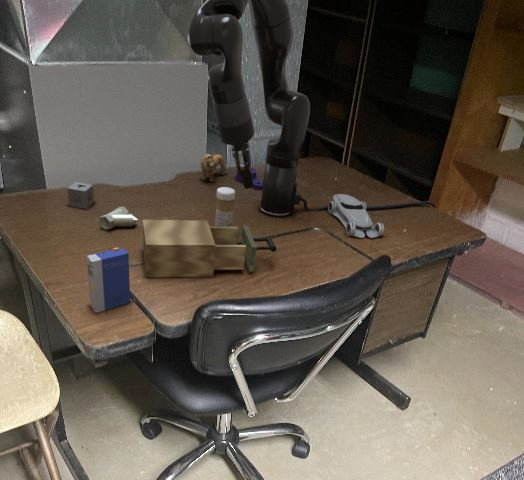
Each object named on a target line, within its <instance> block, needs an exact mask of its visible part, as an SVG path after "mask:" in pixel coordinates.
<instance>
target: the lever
mask: <svg viewBox="0 0 524 480" xmlns="http://www.w3.org/2000/svg"><path fill="white" fill-rule="evenodd" d="M257 171H258V170H257V169H256V168H253V167H251V175H252V179H253V187H252V188H251V189H254V190H260V191H262V188H263V180H262V179H260V178H259V177H258V176H257ZM236 181H237V182H240V183H242V184H243V180H242V177H240V175H239V172H238V169H237V168H236Z"/></svg>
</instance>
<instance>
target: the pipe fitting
mask: <svg viewBox="0 0 524 480" xmlns="http://www.w3.org/2000/svg"><path fill="white" fill-rule="evenodd" d="M133 215H134V214H133V213H130V211H129V210H128V209H127V208H126V207H125V206H120V207H117V208H115V209H114V210H112V211H111V212H109V213H107V214H103V215H101V216H99V226H100V227H101V228H102V229H103V230H110V229H113V228H114V227H117V228H119V227H128V228H129V227H131V228H132V227H134V225H135V224H136V223H137V222H138V218H136V216H133Z"/></svg>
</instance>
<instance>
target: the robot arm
mask: <svg viewBox="0 0 524 480" xmlns="http://www.w3.org/2000/svg"><path fill="white" fill-rule="evenodd" d="M247 5H248V7H249V12H250V19H251V25H252V30H253V35H254V40H255V44H256V48H257V55H258V61H259V67H260V72H261V79H262V89H263V99H264V108H265V113H266V116H267V118H268V119H269V121H270V122H272V123H274V124H276V125H278V126H280V127H281V131H280V135H279V136H276V137H272V138H269V140H268V141H267V145H266V146H267V147H266V155H265V164H264V173H263V180H262V182H263V188H262V189H261V198H260V205H259V210H260V211H261V213H263V214H265V215H267V216H271V217H278V218H279V217H280V218H283V217H287V216H293V215H294V210H295V206H300V204H301V202H302V203H303V209H305V210H306V211H308V212H309V211H313V212H314V211H325V210H328V205H325V206H319V207H315V208H311V207H308V202H307V200H306V199H305V198H304V197H302V195H301V193H299V191H298V190H297V189H298V182H297V174H298V168H299V163H300V154H301V150H302V147H303V145H304V143H305V141H306V136H307V130H308V125H309V120H310V114H311V103H310V100H309V97H308V96H307V95H305V94H304V93H301V92H298V91H297V90H296V91H295V90H293V89H290V88H289V86H288V80H287V75H286V62H287V60H288V57H289V54H290V51H291V47H292V44H293V38H294V33H293V23H292V17H291V10H290V7H289V4H288V1H287V0H204V2H202V4H201V5H200V6H199V7H198V8H197V10H196V11H195V13H193V15H192V17H191V18H190V21H189V24H188V27H187V43H188V45H189V48H190V50H191V51H192V52H193V54H195V55H197V56H200V57H223V62H222V63H219V64H216V65H214V66H212V67H211V68H209V70H208V71H207V83H208V87H209V90H210V95H211V100H212V104H213V113H214V116H215V120H216V125H217V128H218V132H219V136H220V141H221V142H222V143H223V144H225V145H227V146H231V154H232V158H233V159H234V162H235V167H236V170H237V169H238V172H239V175H240V177H242V180H243V183H242V184H243V187H244V189H245V190H246V189H247V190H248V189H253V188H252V187H253V179H252V175H251V168H252V158H251V150H250V143H249V141H250V140H251V139H252V138H253V137H254V135H255V128H254V124H253V118H252V113H251V109H250V104H249V100H248V97H247V95H246V94H247V93H246V89H245V84H244V80H243V74H242V51H243V37H244V35H243V28H242V25H241V23H240V21H239V20H240V19H241V18H242V17H243V14H244V13H245V10H246V7H247ZM423 205H429V206H431V207H432V208H437V206H436V204H435V203H434V202H433V201H429V200H425V201H413V202H404V203H396V204H387V205H371V206H370V205H369V206H367V209H366V211H369V210H385V209H392V208H393V209H394V208H395V209H396V208H403V207H410V206H423Z"/></svg>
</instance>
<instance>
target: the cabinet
mask: <svg viewBox="0 0 524 480" xmlns="http://www.w3.org/2000/svg"><path fill="white" fill-rule="evenodd" d="M210 227H211V226H210V224H209V221H208V220H194V219H193V220H190V219H189V220H188V219H186V220H185V219H142V251H143V259H144V260H143V261H144V270H145V277H146V278H205V277H206V278H208V277H209V278H212V277H214V272H215V270H214V259H215V242H214V239H213V236H212V233H211V230H210Z"/></svg>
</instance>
